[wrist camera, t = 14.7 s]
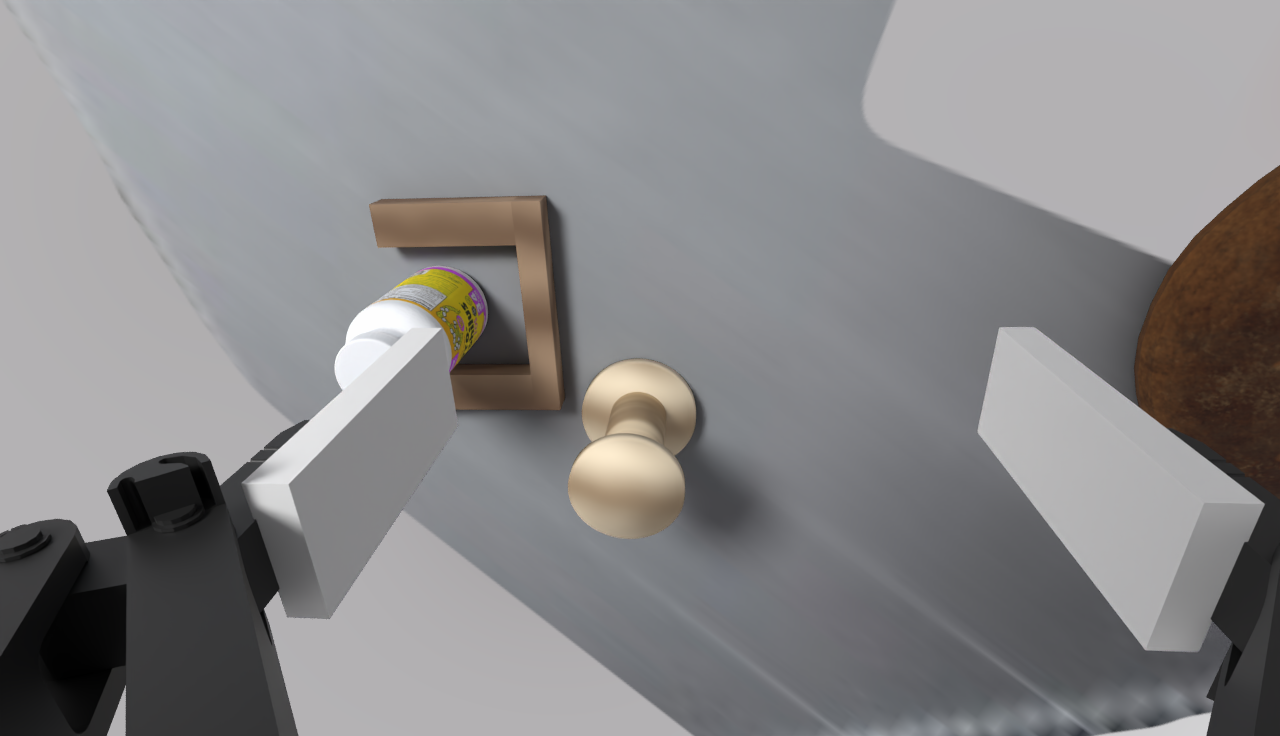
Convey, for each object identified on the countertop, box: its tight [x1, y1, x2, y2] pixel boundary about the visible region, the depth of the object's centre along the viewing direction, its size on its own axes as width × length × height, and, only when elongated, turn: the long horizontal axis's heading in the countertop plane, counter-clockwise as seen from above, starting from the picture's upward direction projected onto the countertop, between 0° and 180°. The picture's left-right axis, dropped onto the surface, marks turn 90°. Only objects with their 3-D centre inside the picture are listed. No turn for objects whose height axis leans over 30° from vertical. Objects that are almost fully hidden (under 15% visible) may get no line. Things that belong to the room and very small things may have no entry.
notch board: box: [369, 196, 565, 410], centre depth 49 cm, size 16×12×2 cm
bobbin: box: [568, 358, 696, 539], centre depth 47 cm, size 9×9×11 cm
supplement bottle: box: [335, 266, 488, 390], centre depth 44 cm, size 7×7×13 cm
